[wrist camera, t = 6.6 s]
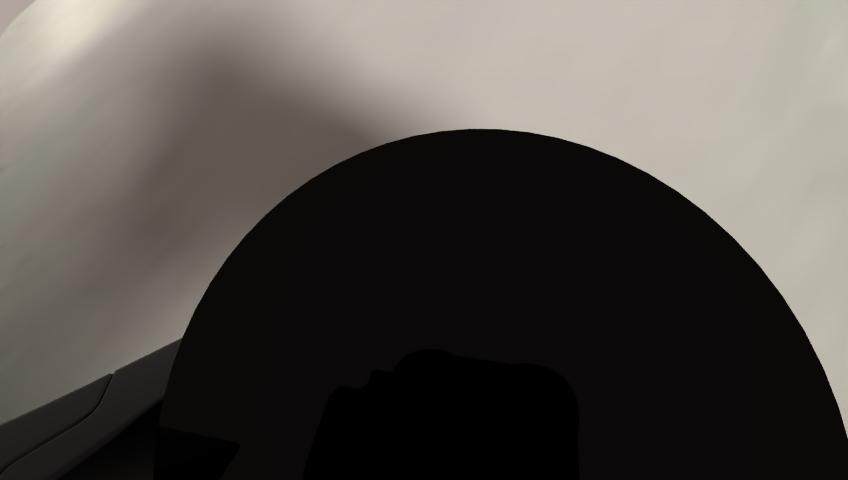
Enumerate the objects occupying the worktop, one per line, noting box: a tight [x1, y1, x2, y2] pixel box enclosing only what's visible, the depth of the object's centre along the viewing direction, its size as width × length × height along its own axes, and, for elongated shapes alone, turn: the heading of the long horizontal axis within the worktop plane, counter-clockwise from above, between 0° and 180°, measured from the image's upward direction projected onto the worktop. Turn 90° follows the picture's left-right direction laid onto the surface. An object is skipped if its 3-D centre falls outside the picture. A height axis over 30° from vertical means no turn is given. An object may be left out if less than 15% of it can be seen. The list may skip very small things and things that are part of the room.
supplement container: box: [153, 129, 848, 480], centre depth 9 cm, size 7×7×10 cm
